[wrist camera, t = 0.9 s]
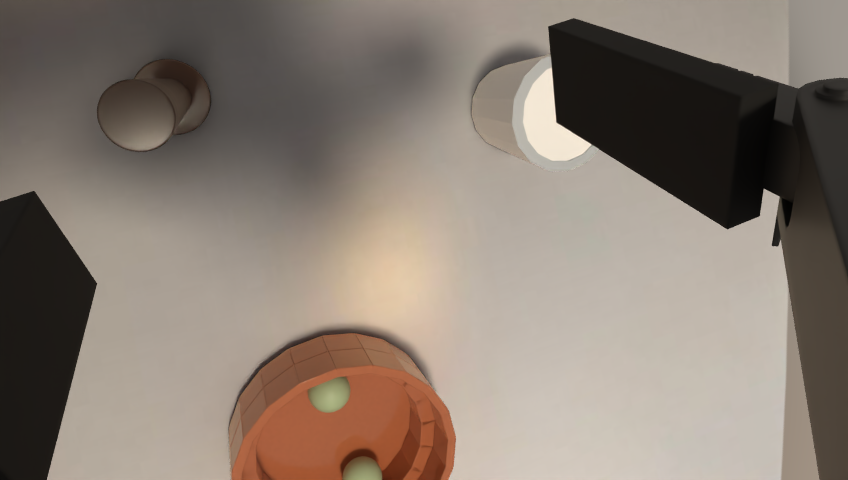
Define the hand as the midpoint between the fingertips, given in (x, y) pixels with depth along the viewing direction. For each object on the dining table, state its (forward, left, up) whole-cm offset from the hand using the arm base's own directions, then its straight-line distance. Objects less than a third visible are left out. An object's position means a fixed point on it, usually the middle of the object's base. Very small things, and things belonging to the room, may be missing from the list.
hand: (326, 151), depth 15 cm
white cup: (-6, +15, -22) cm, 27 cm away
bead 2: (+22, +14, -20) cm, 32 cm away
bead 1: (+16, +9, -20) cm, 27 cm away
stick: (+1, -5, -22) cm, 22 cm away
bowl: (+19, +11, -22) cm, 31 cm away
